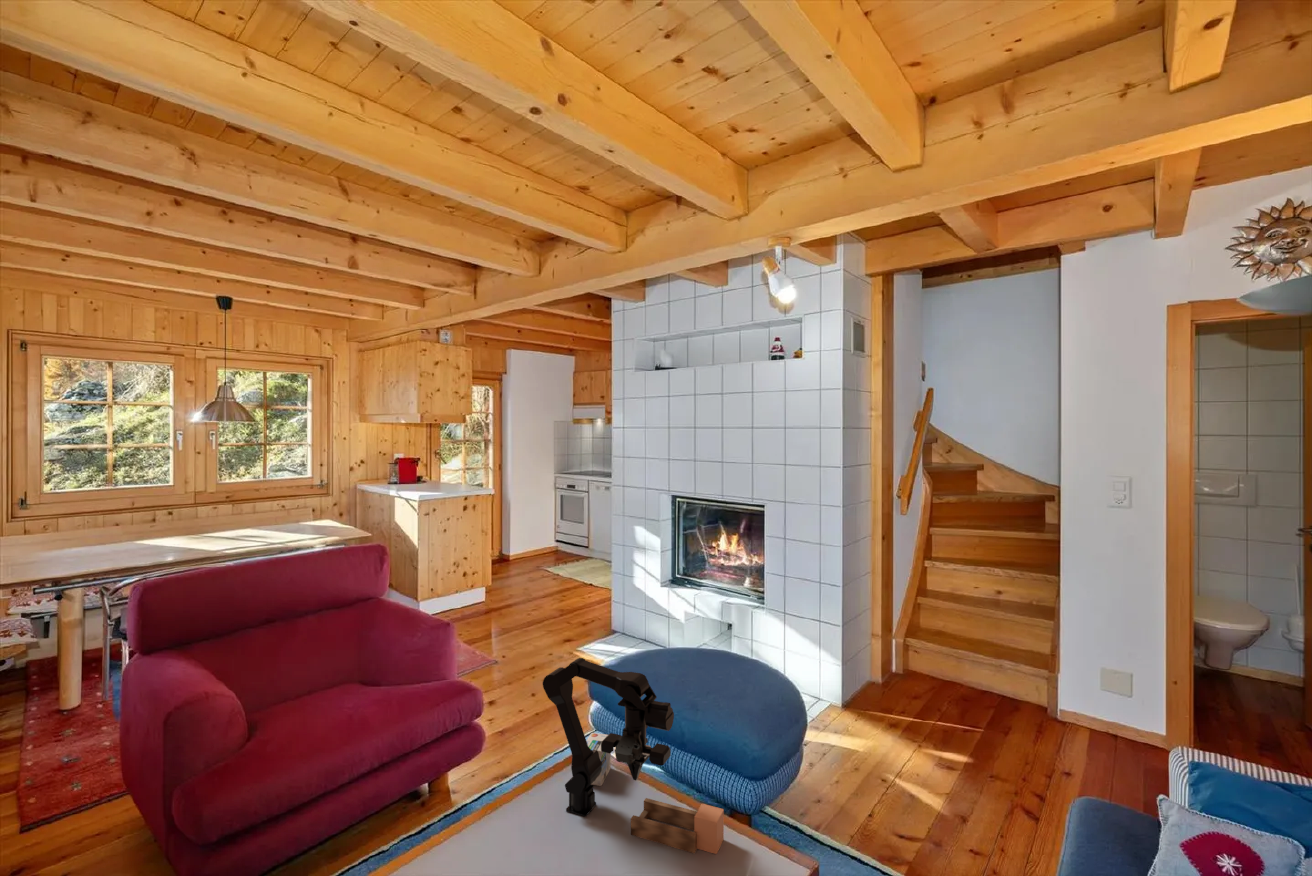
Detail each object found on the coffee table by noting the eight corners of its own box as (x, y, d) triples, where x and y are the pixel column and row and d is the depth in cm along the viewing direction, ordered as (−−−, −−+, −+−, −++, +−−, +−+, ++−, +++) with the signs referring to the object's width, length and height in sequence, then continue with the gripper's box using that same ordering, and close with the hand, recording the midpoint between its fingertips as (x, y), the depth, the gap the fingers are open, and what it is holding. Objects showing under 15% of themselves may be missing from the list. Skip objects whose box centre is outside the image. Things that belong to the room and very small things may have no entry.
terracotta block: (694, 847, 154) (694, 816, 154) (701, 833, 160) (701, 803, 160) (716, 854, 152) (716, 822, 152) (723, 839, 157) (723, 809, 157)
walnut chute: (630, 835, 159) (630, 818, 159) (645, 814, 168) (645, 798, 168) (694, 854, 152) (694, 836, 152) (707, 830, 161) (707, 814, 161)
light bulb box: (601, 787, 181) (601, 751, 181) (580, 784, 182) (580, 749, 182) (611, 767, 192) (611, 734, 192) (591, 765, 193) (591, 731, 193)
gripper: (591, 729, 160) (591, 787, 160) (655, 743, 153) (655, 804, 153) (610, 711, 170) (610, 766, 171) (671, 724, 163) (671, 781, 163)
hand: (635, 779), depth 164 cm, fingers closed
